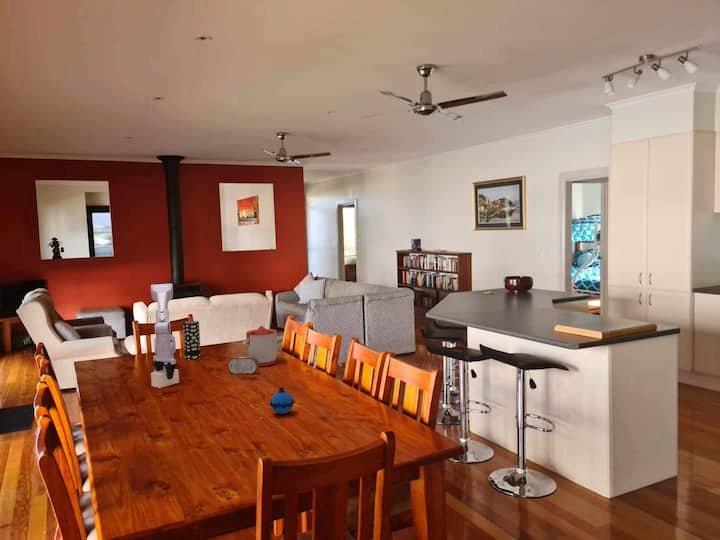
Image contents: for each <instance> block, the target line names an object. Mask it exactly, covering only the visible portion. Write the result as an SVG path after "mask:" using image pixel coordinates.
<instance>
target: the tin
mask: <svg viewBox="0 0 720 540" xmlns="http://www.w3.org/2000/svg"><path fill="white" fill-rule="evenodd" d="M259 368H260V367H259V362H258V360H257V359H256V358H254V357H251V356H248V355H246V356H243V355H242V356H241V355H239V356H238V355H237V356H236V355H235V356H233V357H231V358H230V359H229V361H227V369H228V371H229V372H230V373H231V374H233V375H247V374H246V373H249V374H248V375H251V374H250V373H254V374H256V373H257V371H258V370H259Z"/></svg>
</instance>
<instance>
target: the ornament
mask: <svg viewBox="0 0 720 540" xmlns="http://www.w3.org/2000/svg"><path fill="white" fill-rule="evenodd" d="M294 403H295V402H294V398H293V396H292V395H291V394H290V393H289V392H288V391H285V389H284V387H283V386H281V387H279V391H277V392H275V393H274V394H273V396H272V397H271V399H270V402H269V406H270V407H271V409H272V411H273V412H275V413H276V414H278V415H284V414H285V415H286V414H288V413H289V412H290V411H291V410H292V408H293V406H294Z"/></svg>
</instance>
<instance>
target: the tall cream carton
mask: <svg viewBox="0 0 720 540" xmlns="http://www.w3.org/2000/svg"><path fill="white" fill-rule="evenodd" d="M150 379H151V380H150V381H151V387H154V388H157V387H158V389H161V388H165V387H168V386H171V385H175V384H179V383H180V377H179V369H177V368H175V370H174V374H173V379H169V380H168V378H167V373H166V369H164V370H160V371H156V372H151V373H150Z"/></svg>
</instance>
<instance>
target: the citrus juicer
mask: <svg viewBox="0 0 720 540" xmlns="http://www.w3.org/2000/svg"><path fill="white" fill-rule="evenodd" d="M277 332H278V330H277V329H275V328H274V329H272V328H265V326H263V325H260V326H259V327H258V328H256V329H252V330H247V331H246V334H245V335H246V338H245V339H244V340H243V343H242V344H243V345H246V348H247V356H251V357H254V358H256V359H257V360H258V362H259V366H260V367H268V366H272V365H271V364H273V365H274V364H275V362H276V360H277V356H278V355H277V353H278V339H277V338H278V336H277V335H278V333H277Z"/></svg>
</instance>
